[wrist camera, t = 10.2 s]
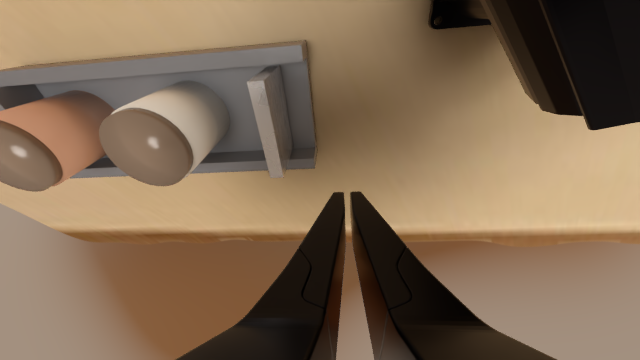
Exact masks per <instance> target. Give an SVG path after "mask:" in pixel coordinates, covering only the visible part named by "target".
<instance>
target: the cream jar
mask: <svg viewBox="0 0 640 360" xmlns="http://www.w3.org/2000/svg"><path fill="white" fill-rule="evenodd" d="M229 124H230V119H229V113H228V110H227V108H226V106H225V104H224V102H223V101H222V99H221V98H220V97H219V96H218V95H217V94H216V93H215V92H214V91H213V90H212V89H210V88H209V87H207V86H205V85H204V84H201V83H199V82H195V81H189V80H185V81H179V82H177V83H174V84H172V85H170V86H167V87H165V88H163V89H161V90H158V91H156V92H154V93H152V94H149V95H147V96H145V97H142V98H140V99H138V100H136V101H133V102H131V103H129V104H127V105H124V106H122V107H120V108H118V109H116V110H115V111H114V112H112V114H111V115H110V116H108V117H106V118H105V119H104V120H103V122H102V123H101V125H100V128H99V138H100V142H101V145H102V147H103V149H104V151H105V153H106V154H107V156H108V157H109V158H110V160H111V161H112V162H113V163H114V164H115V165H116V166H117V167H118V168H119V169H121V170H122V171H123V172H124V173H126V174H127V175H129V176H131V177H132V178H134V179H136V180H138V181H141V182H143V183H146V184H150V185H155V186H169V185H173V184H176V183H178V182H179V181H181V180H182V179H183V178H185V177H187V176H188V175H189V174H190V173H191V172H192V171H193V170H194V169H195V168H196V167H197V166H198V165H199V163H200V162H201V161H202V160H203V159H204V158H205V157H206V156H207V155H208V153H209V152H210V151H211V150H212V149H213V148H214V147H215V146H216V145H217V143H218V142H219V141H220V140H221V139H222V138H223V137H224V136H225V134H226V133H227V131H228V128H229Z"/></svg>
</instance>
